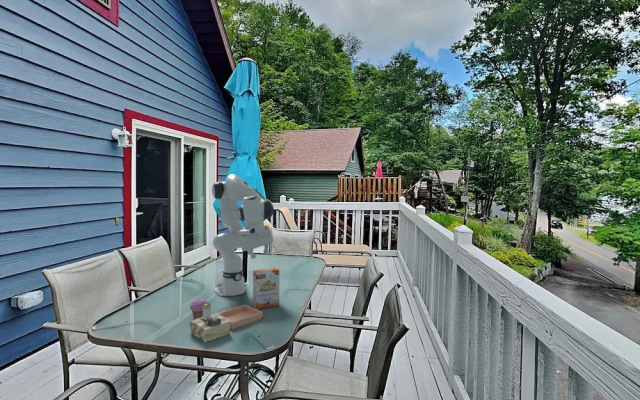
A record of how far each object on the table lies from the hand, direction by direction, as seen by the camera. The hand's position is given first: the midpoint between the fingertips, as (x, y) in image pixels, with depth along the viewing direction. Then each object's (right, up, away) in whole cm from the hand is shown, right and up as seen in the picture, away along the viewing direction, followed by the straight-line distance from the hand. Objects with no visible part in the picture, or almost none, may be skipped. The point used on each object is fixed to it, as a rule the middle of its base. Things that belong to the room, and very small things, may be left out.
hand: (260, 255), depth 165 cm
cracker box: (0, -33, +23) cm, 40 cm away
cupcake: (-33, -34, +7) cm, 48 cm away
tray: (-11, -34, +5) cm, 36 cm away
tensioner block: (-21, -34, -11) cm, 42 cm away
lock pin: (-23, -34, -9) cm, 42 cm away
